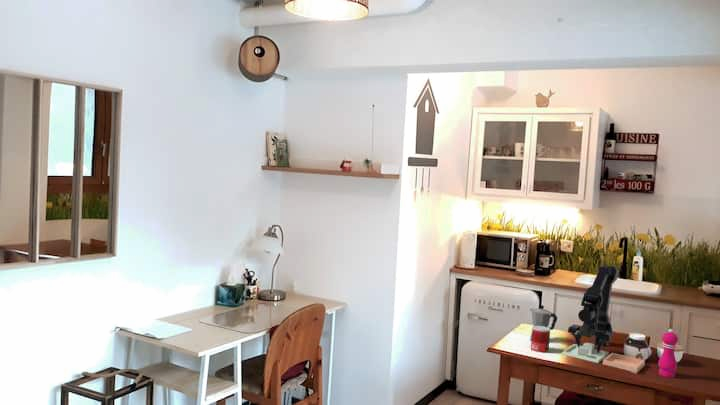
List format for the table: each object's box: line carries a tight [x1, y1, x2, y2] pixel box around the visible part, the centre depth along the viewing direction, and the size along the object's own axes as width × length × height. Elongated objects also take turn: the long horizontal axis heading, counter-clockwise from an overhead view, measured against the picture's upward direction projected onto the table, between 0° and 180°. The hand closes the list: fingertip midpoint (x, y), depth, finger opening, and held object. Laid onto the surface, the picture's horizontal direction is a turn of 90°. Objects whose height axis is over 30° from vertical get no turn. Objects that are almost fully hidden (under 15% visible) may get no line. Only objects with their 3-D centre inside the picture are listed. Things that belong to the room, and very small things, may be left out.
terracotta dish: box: [602, 352, 646, 375], centre depth 265 cm, size 14×14×2 cm
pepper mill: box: [657, 328, 679, 378], centre depth 255 cm, size 7×7×20 cm
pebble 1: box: [582, 341, 596, 354], centre depth 279 cm, size 4×4×4 cm
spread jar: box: [623, 332, 652, 361], centre depth 275 cm, size 12×11×12 cm
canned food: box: [530, 325, 551, 353], centre depth 279 cm, size 8×8×11 cm
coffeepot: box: [529, 305, 558, 341], centre depth 294 cm, size 15×9×18 cm, turn 37°
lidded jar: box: [656, 341, 685, 363], centre depth 273 cm, size 11×11×9 cm
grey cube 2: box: [578, 345, 589, 357], centre depth 273 cm, size 4×4×4 cm
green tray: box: [561, 343, 610, 364], centre depth 276 cm, size 16×16×2 cm
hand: (588, 350), depth 279 cm, fingers open, 8 cm apart
